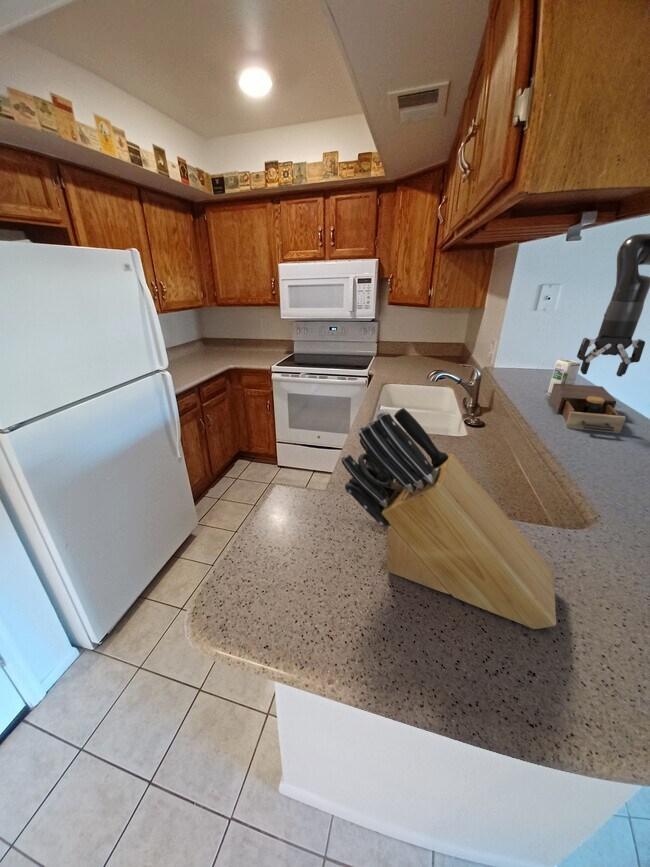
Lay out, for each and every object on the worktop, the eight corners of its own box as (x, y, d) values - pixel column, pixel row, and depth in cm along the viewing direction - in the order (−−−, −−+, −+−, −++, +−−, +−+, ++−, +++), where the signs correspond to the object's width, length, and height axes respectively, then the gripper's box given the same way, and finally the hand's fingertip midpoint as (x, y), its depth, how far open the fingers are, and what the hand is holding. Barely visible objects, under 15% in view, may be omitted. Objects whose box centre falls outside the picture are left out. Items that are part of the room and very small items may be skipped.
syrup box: (545, 395, 132) (555, 360, 126) (558, 393, 133) (568, 358, 127) (558, 400, 127) (568, 363, 121) (570, 398, 128) (581, 361, 122)
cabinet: (608, 423, 108) (616, 401, 105) (555, 418, 114) (562, 397, 110) (595, 406, 120) (602, 386, 117) (548, 402, 126) (553, 383, 122)
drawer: (623, 441, 96) (631, 423, 93) (568, 435, 100) (574, 418, 98) (604, 417, 110) (610, 401, 107) (557, 413, 115) (561, 397, 112)
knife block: (363, 519, 74) (364, 389, 59) (549, 582, 57) (609, 422, 43) (340, 554, 65) (334, 412, 51) (550, 640, 49) (627, 464, 34)
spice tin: (594, 419, 106) (602, 396, 103) (598, 425, 103) (606, 401, 99) (578, 418, 108) (585, 395, 104) (581, 423, 104) (589, 400, 101)
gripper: (594, 319, 89) (575, 376, 97) (660, 320, 85) (636, 380, 92) (586, 315, 96) (569, 369, 103) (648, 316, 91) (626, 372, 98)
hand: (601, 374), depth 98 cm, fingers open, 8 cm apart
